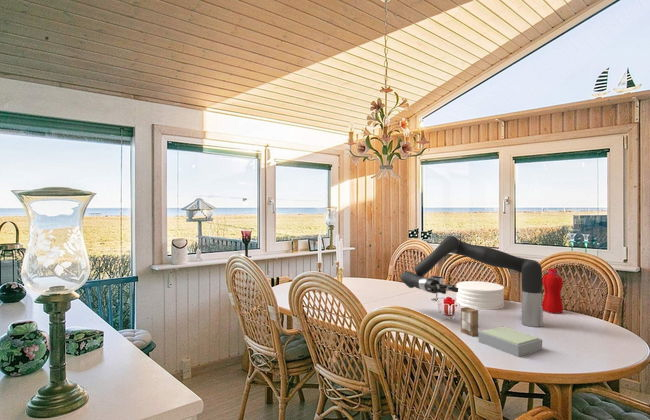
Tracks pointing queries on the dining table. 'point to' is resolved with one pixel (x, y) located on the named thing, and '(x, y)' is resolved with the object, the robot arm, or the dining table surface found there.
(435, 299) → the wine glass
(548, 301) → the water bottle
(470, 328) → the frame
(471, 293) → the plate stack
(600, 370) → the dining table surface
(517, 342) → the display stand
